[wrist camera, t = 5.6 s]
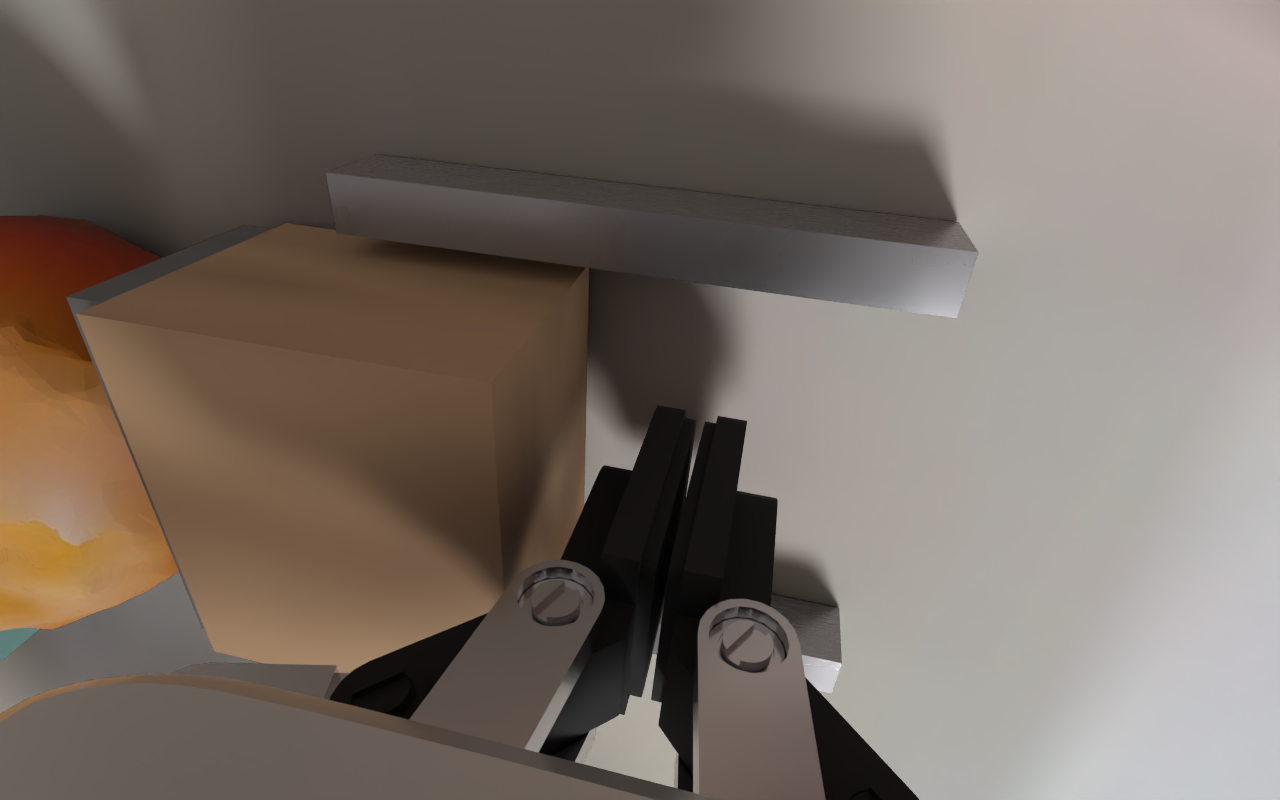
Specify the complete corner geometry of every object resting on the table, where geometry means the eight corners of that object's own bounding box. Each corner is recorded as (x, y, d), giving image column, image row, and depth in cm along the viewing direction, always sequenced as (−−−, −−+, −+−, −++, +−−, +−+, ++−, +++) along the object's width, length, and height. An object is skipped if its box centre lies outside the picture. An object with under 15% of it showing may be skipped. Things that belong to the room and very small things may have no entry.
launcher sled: (582, 552, 16) (512, 724, 12) (325, 500, 17) (185, 644, 13) (589, 264, 12) (490, 382, 8) (258, 219, 13) (39, 307, 9)
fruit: (-215, 54, 12) (-710, 323, 6) (284, 187, 16) (239, 427, 10) (-130, 388, 16) (-383, 718, 11) (245, 429, 20) (198, 688, 15)
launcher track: (829, 637, 16) (831, 693, 15) (431, 554, 17) (401, 597, 16) (958, 221, 11) (978, 252, 9) (375, 154, 12) (325, 172, 11)
